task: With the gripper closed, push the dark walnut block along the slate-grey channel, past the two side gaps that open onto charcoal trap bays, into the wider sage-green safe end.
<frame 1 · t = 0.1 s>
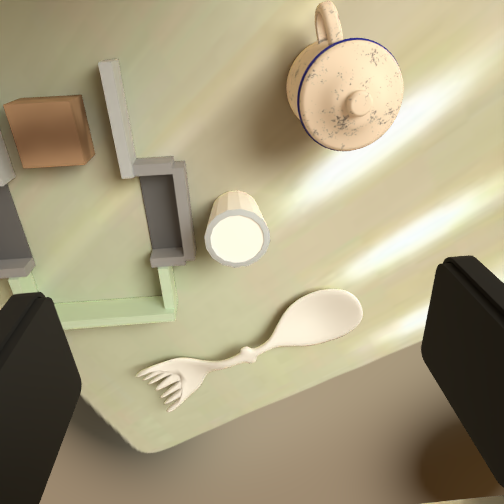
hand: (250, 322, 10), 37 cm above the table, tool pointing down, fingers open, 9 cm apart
shot glass: (235, 212, 49), on the table
walnut block: (59, 126, 43), on the table
spoon: (250, 338, 59), on the table
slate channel: (78, 198, 46), on the table
teacup with lid: (323, 70, 42), on the table
trap bays: (78, 198, 46), on the table
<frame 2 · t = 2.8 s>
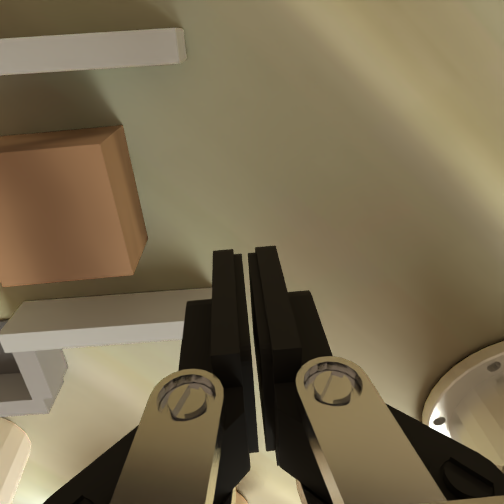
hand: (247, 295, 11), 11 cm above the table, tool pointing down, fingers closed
walnut block: (78, 189, 21), on the table
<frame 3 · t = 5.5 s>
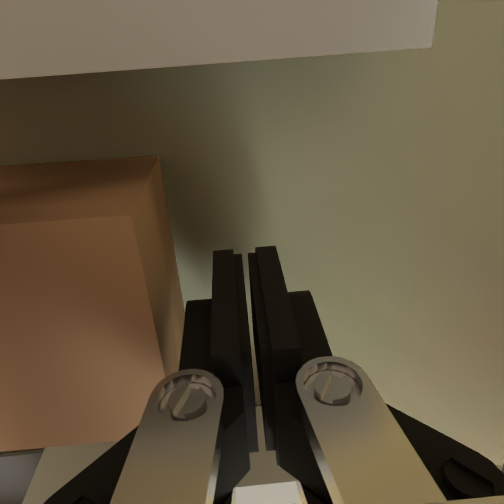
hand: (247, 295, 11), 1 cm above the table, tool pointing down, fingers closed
walnut block: (74, 260, 12), on the table, touching gripper
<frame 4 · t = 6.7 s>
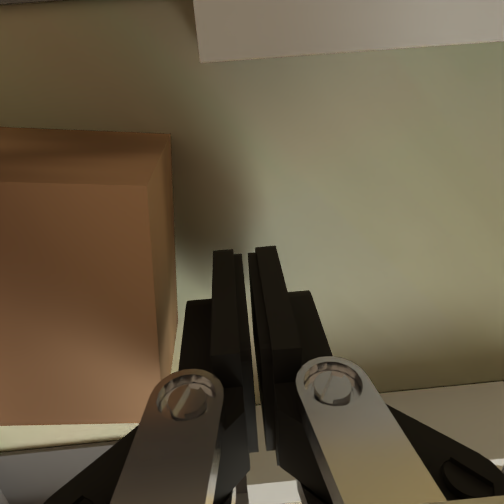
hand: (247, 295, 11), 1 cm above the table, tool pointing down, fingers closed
walnut block: (68, 235, 12), on the table
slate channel: (128, 280, 12), on the table
trap bays: (128, 280, 12), on the table
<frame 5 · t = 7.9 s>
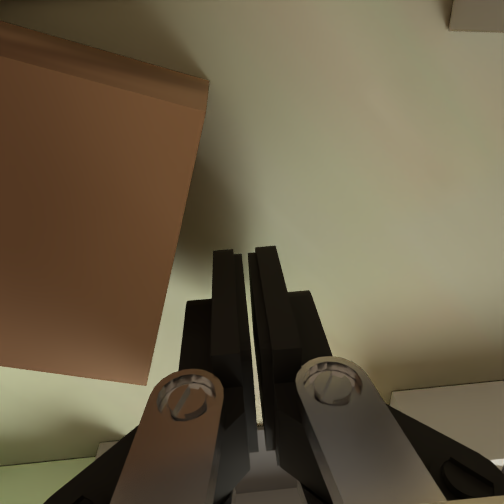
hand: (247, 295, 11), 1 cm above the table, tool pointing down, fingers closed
walnut block: (69, 168, 11), on the table, touching gripper
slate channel: (316, 262, 12), on the table
trap bays: (316, 262, 12), on the table
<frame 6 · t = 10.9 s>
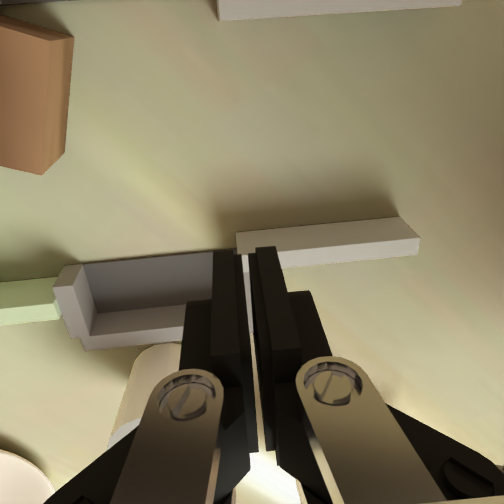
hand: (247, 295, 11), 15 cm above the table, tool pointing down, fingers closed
shot glass: (169, 368, 32), on the table
walnut block: (8, 81, 21), on the table
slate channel: (175, 144, 23), on the table
trap bays: (175, 144, 23), on the table
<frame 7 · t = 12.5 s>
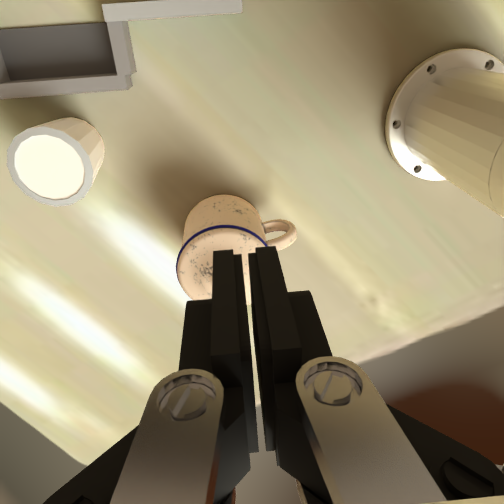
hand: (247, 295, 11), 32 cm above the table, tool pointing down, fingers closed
shot glass: (75, 146, 40), on the table
teacup with lid: (236, 224, 46), on the table
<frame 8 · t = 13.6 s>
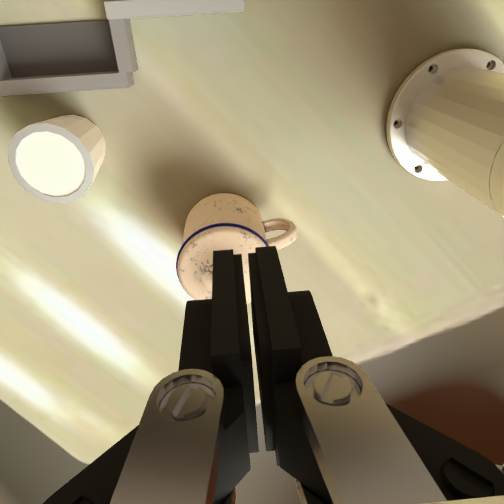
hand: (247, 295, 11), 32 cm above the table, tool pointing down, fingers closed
shot glass: (77, 143, 40), on the table
teacup with lid: (236, 223, 46), on the table
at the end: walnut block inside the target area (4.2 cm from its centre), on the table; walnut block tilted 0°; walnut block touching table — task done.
